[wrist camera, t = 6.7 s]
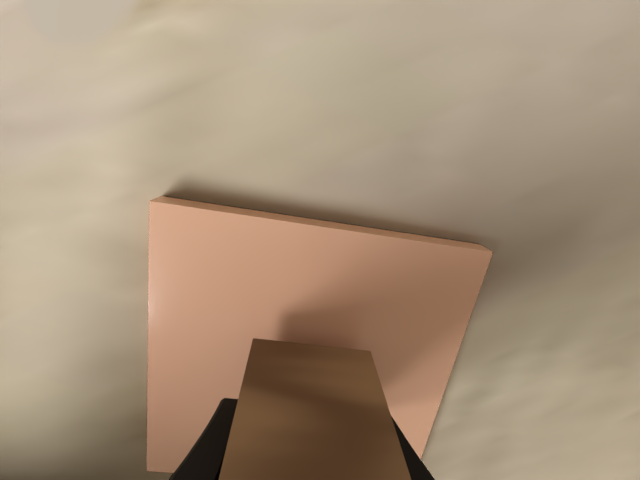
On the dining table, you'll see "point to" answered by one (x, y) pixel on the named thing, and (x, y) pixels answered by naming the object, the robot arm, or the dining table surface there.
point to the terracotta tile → (295, 310)
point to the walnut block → (311, 417)
